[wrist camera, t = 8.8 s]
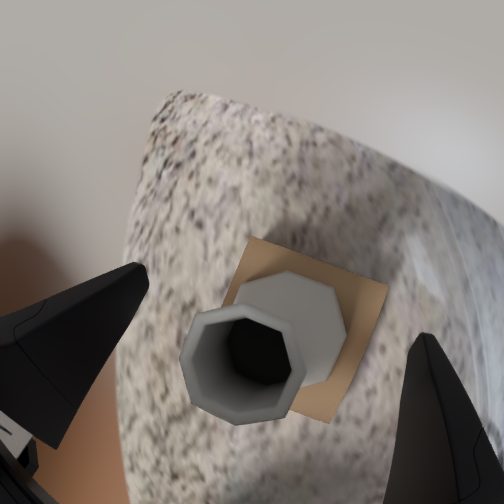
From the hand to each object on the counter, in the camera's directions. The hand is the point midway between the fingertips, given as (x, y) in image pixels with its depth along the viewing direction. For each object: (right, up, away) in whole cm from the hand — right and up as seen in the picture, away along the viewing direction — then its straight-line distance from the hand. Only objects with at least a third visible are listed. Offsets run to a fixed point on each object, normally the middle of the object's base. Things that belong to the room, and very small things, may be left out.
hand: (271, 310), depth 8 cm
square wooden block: (+2, -4, +11) cm, 11 cm away
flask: (+1, -3, +8) cm, 9 cm away
